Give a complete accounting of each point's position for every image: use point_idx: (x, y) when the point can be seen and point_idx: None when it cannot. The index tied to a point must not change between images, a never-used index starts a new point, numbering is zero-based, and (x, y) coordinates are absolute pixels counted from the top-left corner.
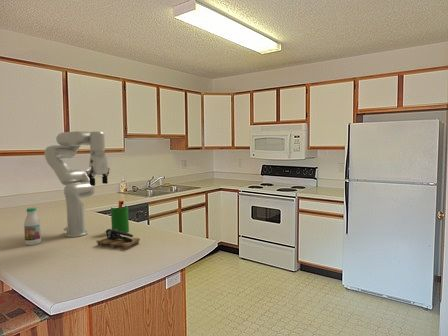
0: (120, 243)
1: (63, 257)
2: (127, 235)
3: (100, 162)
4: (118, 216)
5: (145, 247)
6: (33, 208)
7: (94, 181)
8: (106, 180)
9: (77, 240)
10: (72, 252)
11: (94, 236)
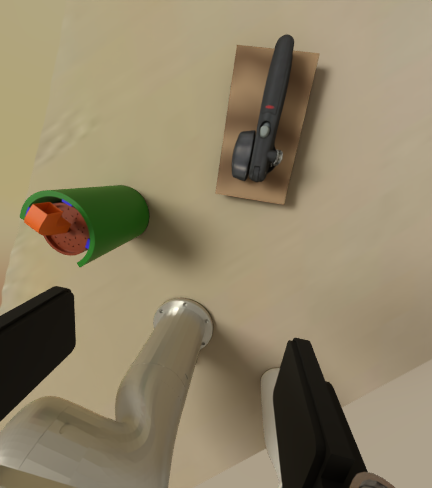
0: (310, 90)
1: (397, 236)
2: (290, 60)
3: None
4: (113, 212)
5: (278, 3)
6: None
7: (325, 389)
8: (35, 313)
9: (235, 290)
10: (349, 238)
11: (189, 265)
